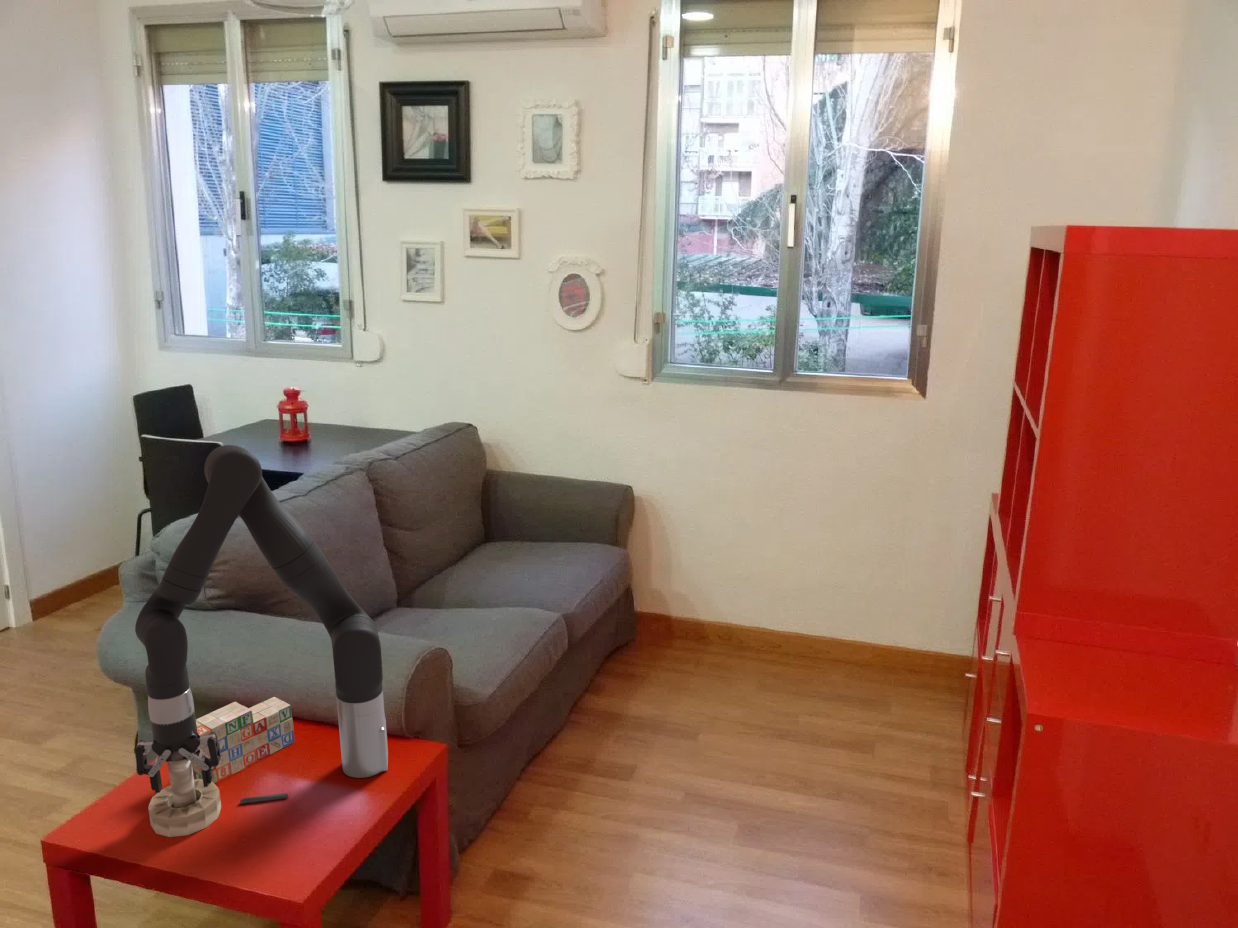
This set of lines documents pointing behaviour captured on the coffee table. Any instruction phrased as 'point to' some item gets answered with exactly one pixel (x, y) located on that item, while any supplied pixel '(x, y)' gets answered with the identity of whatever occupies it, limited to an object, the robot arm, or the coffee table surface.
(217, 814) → the bead
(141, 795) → the coffee table surface
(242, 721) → the stack of blocks
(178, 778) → the grey tipped beige rod
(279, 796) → the dark grey rod
